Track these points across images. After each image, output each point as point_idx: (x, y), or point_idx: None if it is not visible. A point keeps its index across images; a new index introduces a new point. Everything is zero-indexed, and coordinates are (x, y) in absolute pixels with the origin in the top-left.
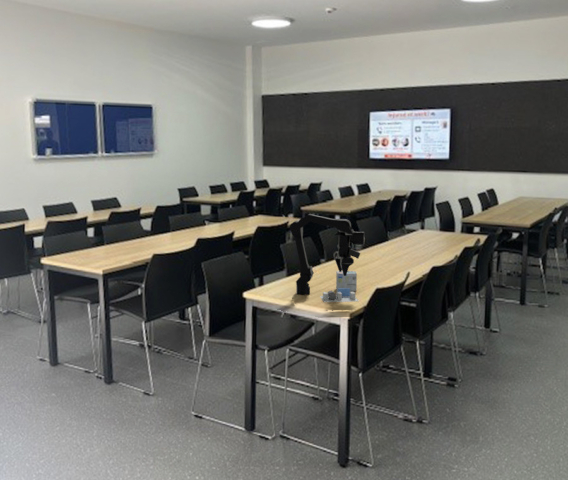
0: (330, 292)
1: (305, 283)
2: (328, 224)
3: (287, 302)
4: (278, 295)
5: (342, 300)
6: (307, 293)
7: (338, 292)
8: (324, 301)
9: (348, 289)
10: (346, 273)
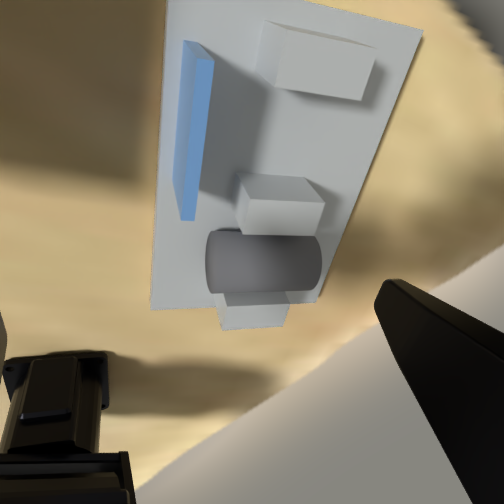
0: (267, 289)
1: (127, 471)
2: None
3: (220, 425)
4: None
5: (332, 180)
6: (82, 376)
7: (268, 221)
8: (306, 298)
9: (208, 81)
10: (443, 305)
